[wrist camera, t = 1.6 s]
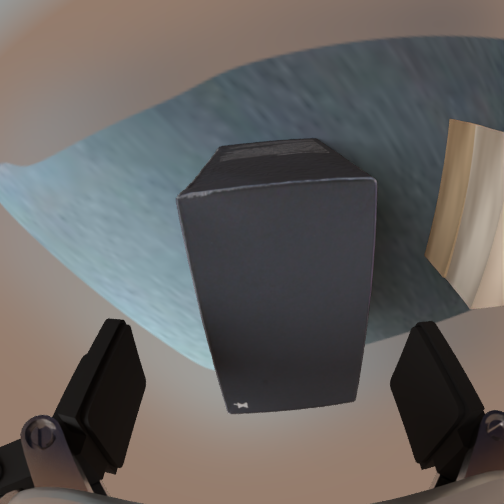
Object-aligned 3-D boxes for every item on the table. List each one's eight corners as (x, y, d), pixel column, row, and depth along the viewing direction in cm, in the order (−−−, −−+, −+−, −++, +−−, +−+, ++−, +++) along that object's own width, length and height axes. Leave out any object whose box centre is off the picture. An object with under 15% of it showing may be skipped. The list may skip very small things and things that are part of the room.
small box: (328, 287, 22) (361, 407, 13) (237, 295, 23) (222, 418, 14) (324, 135, 18) (389, 177, 8) (214, 145, 18) (163, 197, 9)
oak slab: (535, 147, 17) (563, 158, 14) (509, 257, 21) (531, 277, 18) (447, 118, 17) (476, 124, 14) (422, 253, 21) (443, 277, 18)
